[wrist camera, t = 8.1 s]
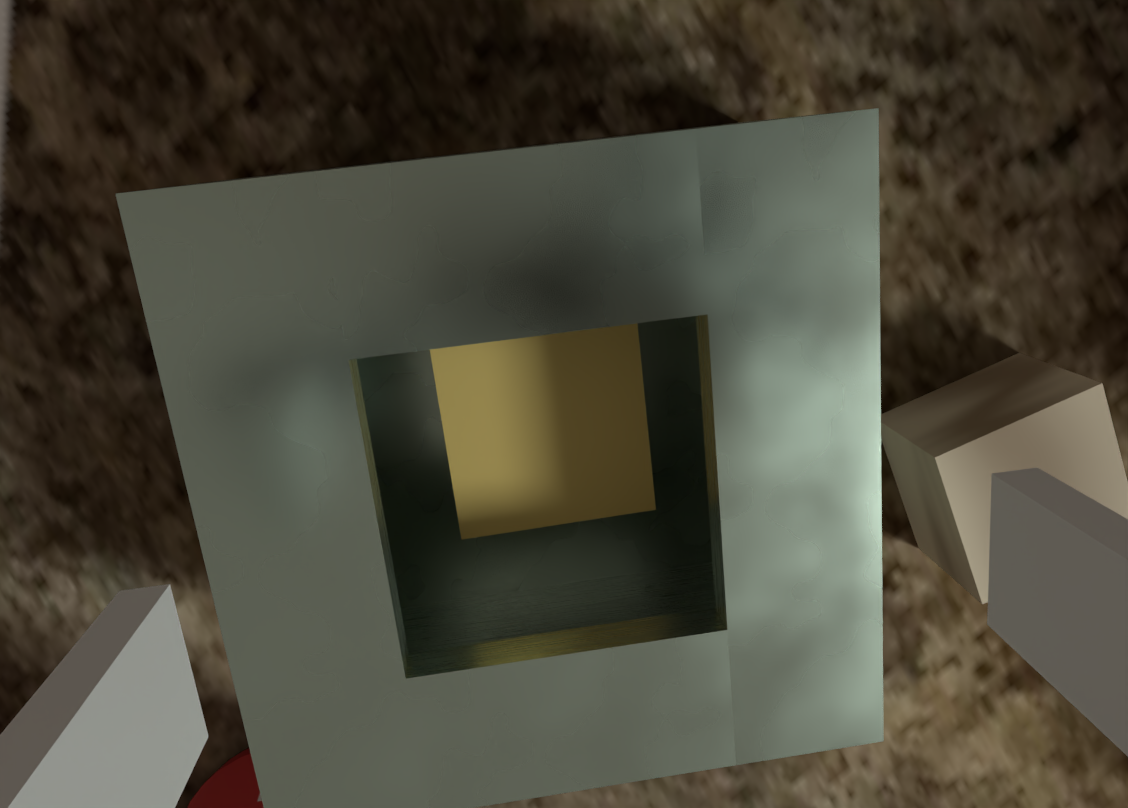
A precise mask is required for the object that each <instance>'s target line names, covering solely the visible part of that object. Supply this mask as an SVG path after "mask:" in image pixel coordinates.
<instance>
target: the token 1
mask: <svg viewBox="0 0 1128 808" xmlns="http://www.w3.org/2000/svg"><path fill="white" fill-rule="evenodd" d="M430 354H431V360H432V366H433V372H434V378H435V384H436V390H437V396H438V402H439V408H440V414H441V420H442V426H443V432H444V438H445V444H446V450H447V456H448V462H449V468H450V474H451V480H452V486H453V492H454V498H455V504H456V510H457V516H458V522H459V527H460V533H461V539H462V540H463V539H469V538H476V537H482V536H489V535H495V534H502V533H508V532H515V531H521V530H528V529H534V528H541V527H547V526H553V525H560V524H566V523H573V522H579V521H586V520H592V519H599V518H605V517H612V516H618V515H625V514H631V513H638V512H644V511H651V510H656V505H655V495H654V485H653V475H652V465H651V455H650V445H649V435H648V425H647V415H646V405H645V395H644V385H643V374H642V364H641V354H640V344H639V334H638V324H637V323H636V324H628V325H620V326H612V327H604V328H596V329H588V330H580V331H573V332H565V333H557V334H549V335H541V336H533V337H525V338H517V339H509V340H501V341H494V342H486V343H478V344H470V345H462V346H454V347H446V348H438V349H430Z"/></svg>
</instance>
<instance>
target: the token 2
mask: <svg viewBox="0 0 1128 808" xmlns="http://www.w3.org/2000/svg"><path fill="white" fill-rule="evenodd" d="M881 440H882V443H883V446H884V449H885V452H886V455H887V458H888V461H889V463H890V466H891V469H892V472H893V475H894V478H895V481H896V484H897V487H898V490H899V493H900V495H901V498H902V501H903V504H904V507H905V510H906V513H907V516H908V519H909V522H910V525H911V528H912V530H913V533H914V536H915V539H916V542H917V545H918V548H919V549H920V550H921V551H922V552H924V553H925V554H926V555H927V556H928V557H929V558H930V559H932V560H933V561H934V562H935V563H936V564H937V565H938V566H939V567H941V568H942V569H943V570H944V571H945V572H946V573H947V574H949V575H950V576H951V577H952V578H953V579H954V580H955V581H957V582H958V583H959V584H960V585H961V586H962V587H963V588H964V589H966V590H967V591H968V592H969V593H970V594H971V595H972V596H974V597H975V598H976V599H977V600H978V601H979V602H980V603H982V604H984V603H987V602H988V584H989V547H990V511H991V475H992V473H999V472H1007V471H1014V470H1022V469H1029V468H1039V469H1041V470H1042V471H1044V472H1046V473H1048V474H1049V475H1051V476H1053V477H1055V478H1056V479H1058V480H1060V481H1062V482H1063V483H1065V484H1067V485H1069V486H1070V487H1072V488H1074V489H1076V490H1077V491H1079V492H1081V493H1083V494H1084V495H1086V496H1088V497H1090V498H1091V499H1093V500H1095V501H1097V502H1098V503H1100V504H1102V505H1104V506H1105V507H1107V508H1109V509H1111V510H1112V511H1114V512H1116V513H1118V514H1119V515H1121V516H1123V517H1125V518H1126V519H1128V482H1127V478H1126V474H1125V470H1124V466H1123V462H1122V458H1121V454H1120V450H1119V446H1118V442H1117V438H1116V435H1115V431H1114V427H1113V423H1112V419H1111V415H1110V411H1109V407H1108V403H1107V399H1106V395H1105V391H1104V387H1103V383H1101V382H1098V381H1095V380H1092V379H1090V378H1087V377H1084V376H1082V375H1079V374H1076V373H1073V372H1071V371H1068V370H1065V369H1062V368H1060V367H1057V366H1054V365H1052V364H1049V363H1046V362H1043V361H1041V360H1038V359H1035V358H1032V357H1030V356H1027V355H1024V354H1022V353H1018V354H1015V355H1013V356H1011V357H1009V358H1006V359H1004V360H1002V361H1000V362H997V363H995V364H993V365H991V366H988V367H986V368H984V369H982V370H979V371H977V372H975V373H973V374H971V375H968V376H966V377H964V378H962V379H959V380H957V381H955V382H953V383H950V384H948V385H946V386H944V387H941V388H939V389H937V390H935V391H932V392H930V393H928V394H926V395H923V396H921V397H919V398H917V399H914V400H912V401H910V402H908V403H905V404H903V405H901V406H899V407H896V408H894V409H892V410H890V411H887V412H885V413H883V414H881Z"/></svg>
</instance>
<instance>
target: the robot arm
mask: <svg viewBox="0 0 1128 808" xmlns="http://www.w3.org/2000/svg"><path fill="white" fill-rule="evenodd" d="M987 625H988V626H989V627H991V628H992V629H993V630H994V631H995V632H996V633H997V634H998V635H999V636H1000V637H1001V638H1002V639H1003V640H1004V641H1005V642H1006V643H1008V644H1009V645H1010V646H1011V647H1012V648H1013V649H1014V650H1015V651H1016V652H1017V653H1018V654H1019V655H1020V656H1021V657H1022V658H1024V659H1025V660H1026V661H1027V662H1028V663H1029V664H1030V665H1031V666H1032V667H1033V668H1034V669H1035V670H1036V671H1037V672H1038V673H1039V674H1041V675H1042V676H1043V677H1044V678H1045V679H1046V680H1047V681H1048V682H1049V683H1050V684H1051V685H1052V686H1053V687H1054V688H1055V689H1056V690H1058V691H1059V692H1060V693H1061V694H1062V695H1063V696H1064V697H1065V698H1066V699H1067V700H1068V701H1069V702H1070V703H1071V704H1072V705H1073V706H1075V707H1076V708H1077V709H1078V710H1079V711H1080V712H1081V713H1082V714H1083V715H1084V716H1085V717H1086V718H1087V719H1088V720H1089V721H1090V722H1092V723H1093V724H1094V725H1095V726H1096V727H1097V728H1098V729H1099V730H1100V731H1101V732H1102V733H1103V734H1104V735H1105V736H1106V737H1107V738H1109V739H1110V740H1111V741H1112V742H1113V743H1114V744H1115V745H1116V746H1117V747H1118V748H1119V749H1120V750H1121V751H1122V752H1123V753H1124V754H1126V755H1127V756H1128V519H1126V518H1125V517H1123V516H1121V515H1119V514H1118V513H1116V512H1114V511H1112V510H1111V509H1109V508H1107V507H1105V506H1104V505H1102V504H1100V503H1098V502H1097V501H1095V500H1093V499H1091V498H1090V497H1088V496H1086V495H1084V494H1083V493H1081V492H1079V491H1077V490H1076V489H1074V488H1072V487H1070V486H1069V485H1067V484H1065V483H1063V482H1062V481H1060V480H1058V479H1056V478H1055V477H1053V476H1051V475H1049V474H1048V473H1046V472H1044V471H1042V470H1041V469H1039V468H1029V469H1022V470H1014V471H1007V472H999V473H992V475H991V511H990V547H989V584H988V620H987ZM208 737H209V736H208V732H207V728H206V724H205V720H204V716H203V712H202V709H201V705H200V701H199V697H198V693H197V689H196V685H195V681H194V677H193V673H192V669H191V665H190V661H189V657H188V653H187V649H186V646H185V642H184V638H183V634H182V630H181V626H180V622H179V618H178V614H177V610H176V606H175V602H174V598H173V594H172V590H171V587H170V584H167V585H160V586H152V587H145V588H138V589H130V590H123V591H119V592H118V593H117V594H116V596H115V597H114V598H113V599H112V600H111V602H110V603H109V604H108V605H107V607H106V608H105V609H104V610H103V611H102V613H101V614H100V615H99V616H98V617H97V619H96V620H95V621H94V622H93V623H92V625H91V626H90V627H89V628H88V629H87V631H86V632H85V633H84V634H83V635H82V637H81V638H80V639H79V640H78V642H77V643H76V644H75V645H74V646H73V648H72V649H71V650H70V651H69V652H68V654H67V655H66V656H65V657H64V658H63V660H62V661H61V662H60V663H59V664H58V666H57V667H56V668H55V669H54V670H53V672H52V673H51V674H50V675H49V676H48V678H47V679H46V680H45V681H44V683H43V684H42V685H41V686H40V687H39V689H38V690H37V691H36V692H35V693H34V695H33V696H32V697H31V698H30V699H29V701H28V702H27V703H26V704H25V705H24V707H23V708H22V709H21V710H20V711H19V713H18V714H17V715H16V716H15V718H14V719H13V720H12V721H11V722H10V724H9V725H8V726H7V727H6V728H5V730H4V731H3V732H2V733H1V734H0V808H175V807H176V805H177V802H178V800H179V798H180V796H181V794H182V792H183V790H184V788H185V785H186V783H187V781H188V779H189V777H190V775H191V773H192V771H193V768H194V766H195V764H196V762H197V760H198V758H199V756H200V754H201V751H202V749H203V747H204V745H205V743H206V741H207V739H208Z"/></svg>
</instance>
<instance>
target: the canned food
mask: <svg viewBox="0 0 1128 808" xmlns="http://www.w3.org/2000/svg"><path fill="white" fill-rule="evenodd" d="M187 808H264V807H263V803H262V799H261V794H260V790H259V786H258V782H257V778H256V774H255V770H254V765H253V761H252V757H251V753H250V749H249V748H247V749H246V750H244V751H242V752H241V753H239V754H237V755H236V756H234V757H232V758H231V759H230V760H228V761H227V762H226V763H225V764H224V765H223V766H222V767H221V768H219V769H218V770H217V771H216V772H215V773H214V774H213V775H212V776H211V777H210V778H209V779H208V780H207V781H206V782H205V783H204V784H203V785H202V786H201V788H200V789H199V790H198V792H197V793H196V794H195V796H194V797H193V798H192V800H191V801H190V803H189V805H188V807H187Z"/></svg>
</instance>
